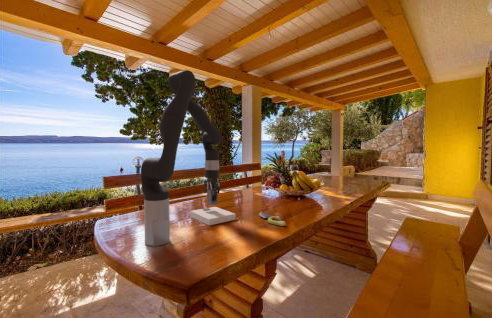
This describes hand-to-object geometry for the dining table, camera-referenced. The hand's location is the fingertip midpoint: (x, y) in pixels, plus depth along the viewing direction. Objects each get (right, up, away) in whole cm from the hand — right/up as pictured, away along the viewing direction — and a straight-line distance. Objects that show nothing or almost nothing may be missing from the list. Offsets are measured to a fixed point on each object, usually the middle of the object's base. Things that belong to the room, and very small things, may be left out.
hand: (212, 200), depth 126 cm
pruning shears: (+31, -10, -3) cm, 32 cm away
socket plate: (0, -9, 0) cm, 9 cm away
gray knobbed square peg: (0, -2, 0) cm, 2 cm away
